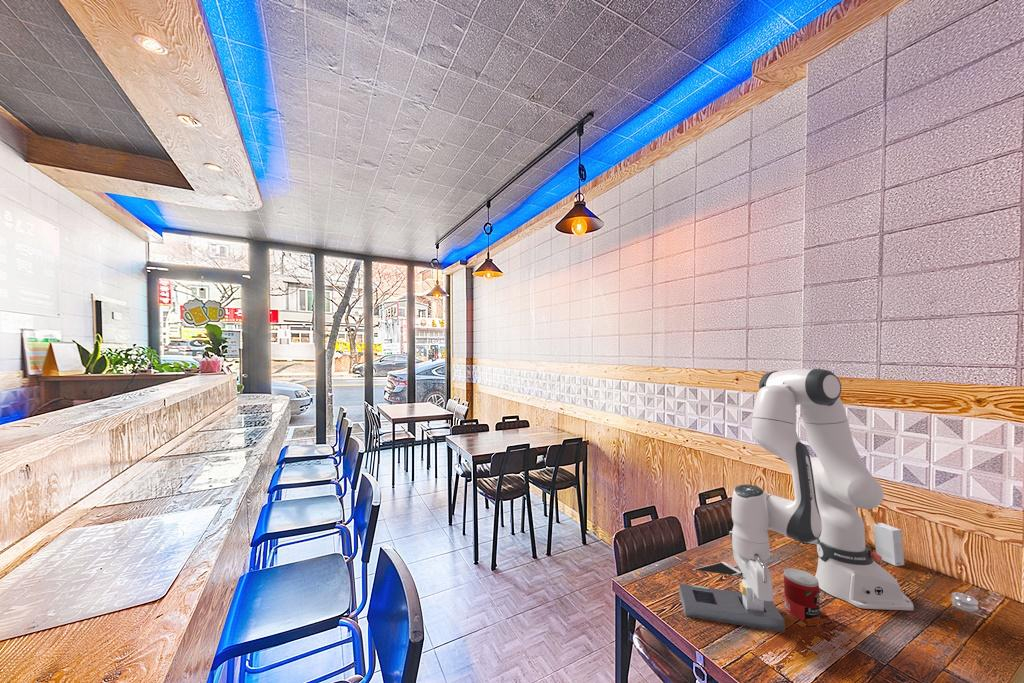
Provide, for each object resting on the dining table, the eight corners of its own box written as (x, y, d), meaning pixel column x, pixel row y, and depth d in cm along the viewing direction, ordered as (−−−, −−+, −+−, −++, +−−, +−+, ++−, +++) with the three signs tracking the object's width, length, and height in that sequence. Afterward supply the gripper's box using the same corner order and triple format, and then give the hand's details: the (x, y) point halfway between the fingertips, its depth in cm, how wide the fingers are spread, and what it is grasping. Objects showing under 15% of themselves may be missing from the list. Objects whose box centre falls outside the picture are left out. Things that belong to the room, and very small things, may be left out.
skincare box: (905, 565, 130) (903, 529, 130) (895, 566, 129) (893, 531, 129) (884, 556, 136) (882, 522, 136) (874, 557, 135) (873, 523, 135)
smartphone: (689, 572, 127) (689, 569, 127) (723, 563, 132) (723, 561, 132) (706, 584, 120) (706, 581, 121) (742, 575, 126) (742, 572, 126)
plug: (758, 610, 105) (757, 581, 106) (764, 619, 102) (763, 589, 102) (739, 607, 107) (738, 578, 107) (744, 616, 103) (743, 587, 103)
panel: (769, 610, 107) (769, 595, 108) (785, 635, 98) (784, 619, 98) (679, 597, 114) (679, 582, 114) (685, 619, 104) (685, 604, 104)
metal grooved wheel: (947, 603, 110) (972, 614, 105) (946, 592, 110) (971, 603, 106) (958, 600, 112) (983, 611, 107) (957, 590, 112) (982, 600, 107)
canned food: (811, 629, 100) (810, 587, 100) (779, 611, 107) (777, 572, 107) (826, 620, 103) (824, 579, 104) (793, 603, 111) (792, 565, 111)
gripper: (779, 568, 94) (782, 624, 93) (750, 531, 114) (752, 577, 113) (751, 564, 96) (753, 620, 95) (727, 528, 115) (729, 574, 115)
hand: (752, 596), depth 104 cm, fingers closed on plug, 4 cm apart
